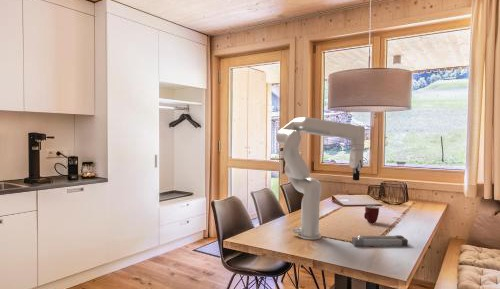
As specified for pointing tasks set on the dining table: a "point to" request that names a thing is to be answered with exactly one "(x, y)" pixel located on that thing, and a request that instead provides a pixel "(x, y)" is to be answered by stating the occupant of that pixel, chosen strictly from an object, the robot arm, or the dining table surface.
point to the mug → (371, 213)
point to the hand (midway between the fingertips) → (355, 180)
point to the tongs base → (379, 242)
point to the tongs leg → (383, 236)
